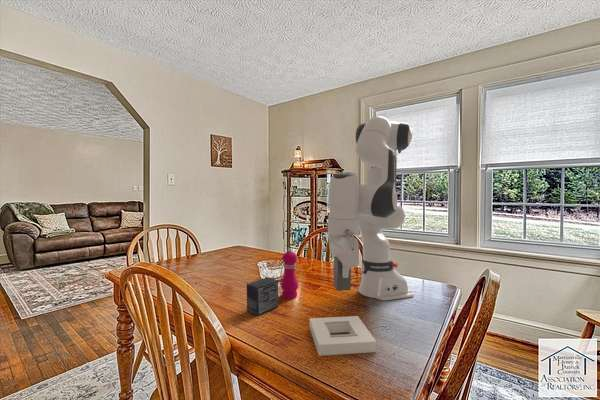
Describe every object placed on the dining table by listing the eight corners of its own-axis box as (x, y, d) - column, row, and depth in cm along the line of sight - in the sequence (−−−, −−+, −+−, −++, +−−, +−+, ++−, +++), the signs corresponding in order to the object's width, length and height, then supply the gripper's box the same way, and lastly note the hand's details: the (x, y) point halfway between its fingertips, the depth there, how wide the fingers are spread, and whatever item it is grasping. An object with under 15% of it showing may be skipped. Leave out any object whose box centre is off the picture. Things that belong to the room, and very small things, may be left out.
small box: (266, 303, 115) (266, 276, 115) (279, 307, 111) (279, 279, 111) (245, 311, 107) (245, 283, 107) (258, 316, 103) (258, 287, 103)
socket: (357, 324, 97) (357, 315, 97) (376, 352, 81) (376, 340, 81) (309, 327, 95) (309, 317, 95) (318, 355, 79) (318, 343, 79)
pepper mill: (296, 300, 118) (296, 250, 117) (278, 298, 120) (278, 249, 119) (299, 293, 125) (300, 246, 124) (283, 292, 127) (283, 246, 126)
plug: (346, 285, 90) (347, 256, 89) (350, 290, 86) (351, 259, 85) (333, 286, 89) (334, 256, 89) (336, 290, 85) (337, 259, 85)
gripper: (365, 233, 77) (364, 285, 77) (344, 223, 97) (343, 265, 98) (342, 233, 76) (341, 286, 77) (325, 223, 96) (324, 265, 97)
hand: (342, 274), depth 87 cm, fingers closed on plug, 4 cm apart
